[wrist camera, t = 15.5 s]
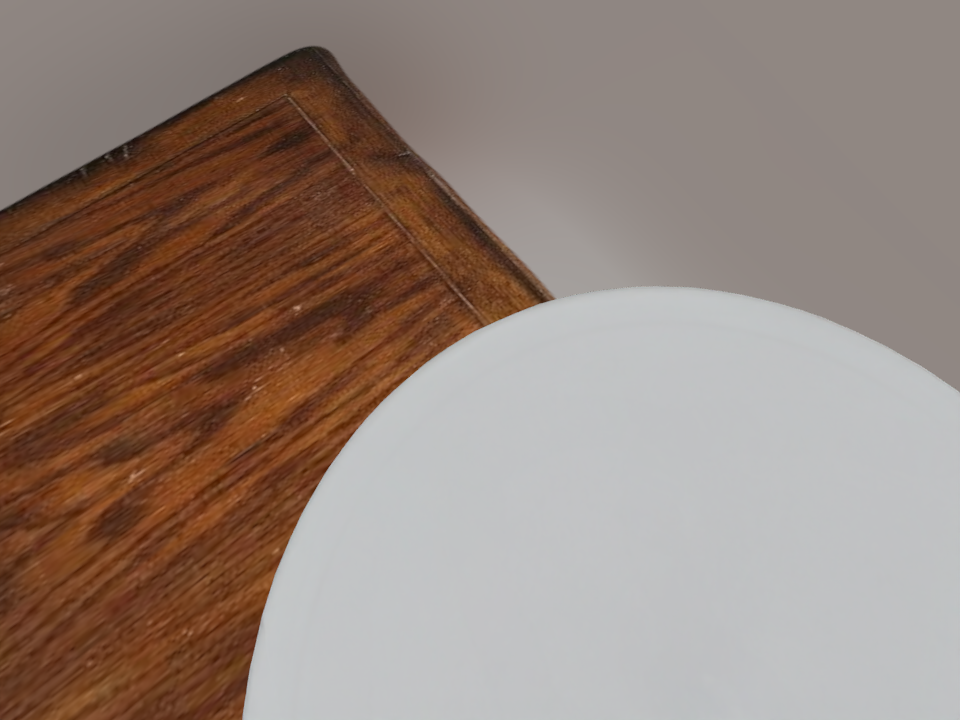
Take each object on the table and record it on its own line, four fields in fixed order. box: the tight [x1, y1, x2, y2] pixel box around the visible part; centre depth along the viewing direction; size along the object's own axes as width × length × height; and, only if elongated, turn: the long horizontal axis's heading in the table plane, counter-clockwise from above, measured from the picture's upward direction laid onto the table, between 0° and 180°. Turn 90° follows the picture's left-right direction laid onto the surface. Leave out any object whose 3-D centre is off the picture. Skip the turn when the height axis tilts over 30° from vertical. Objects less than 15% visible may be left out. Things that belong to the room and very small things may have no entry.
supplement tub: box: [243, 286, 960, 720], centre depth 11 cm, size 10×10×15 cm
